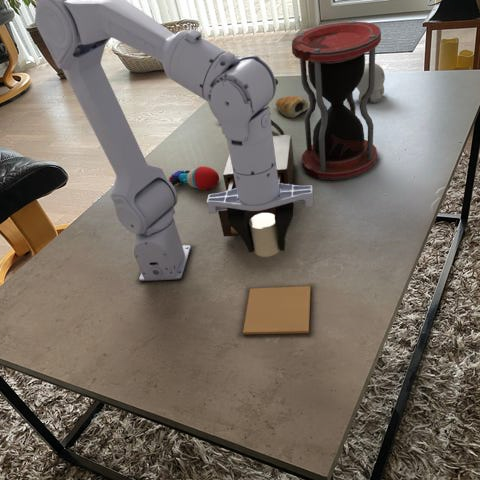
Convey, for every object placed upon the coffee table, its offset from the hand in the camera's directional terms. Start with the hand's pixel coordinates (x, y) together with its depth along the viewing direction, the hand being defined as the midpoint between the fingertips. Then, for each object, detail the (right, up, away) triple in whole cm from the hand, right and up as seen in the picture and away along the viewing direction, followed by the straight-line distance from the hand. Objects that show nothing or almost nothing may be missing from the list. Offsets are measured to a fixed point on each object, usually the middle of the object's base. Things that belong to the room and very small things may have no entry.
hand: (267, 247), depth 73 cm
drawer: (-1, +9, +22) cm, 23 cm away
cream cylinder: (0, 0, 0) cm, 0 cm away
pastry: (+10, +44, +56) cm, 72 cm away
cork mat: (+2, -9, +4) cm, 11 cm away
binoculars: (0, +32, +46) cm, 56 cm away
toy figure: (-14, +19, +37) cm, 44 cm away
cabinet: (+1, +18, +32) cm, 36 cm away
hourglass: (+18, +24, +34) cm, 45 cm away
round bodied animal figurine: (+28, +47, +55) cm, 77 cm away
